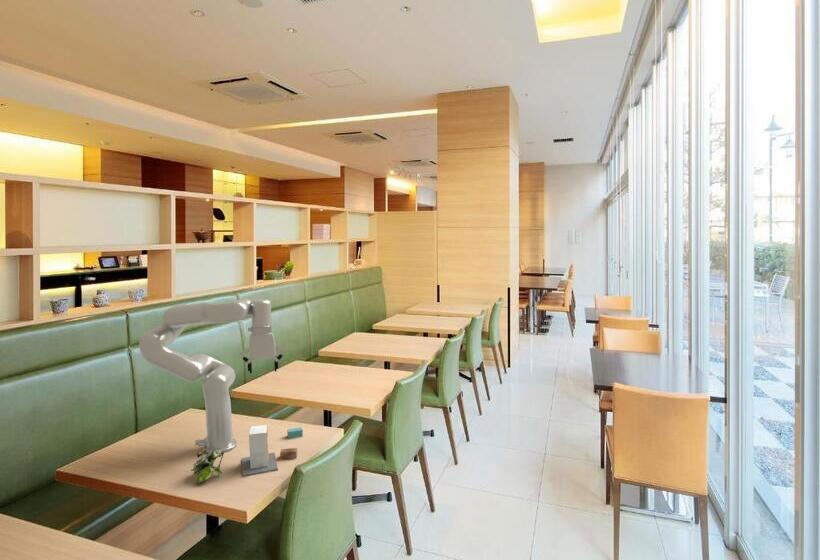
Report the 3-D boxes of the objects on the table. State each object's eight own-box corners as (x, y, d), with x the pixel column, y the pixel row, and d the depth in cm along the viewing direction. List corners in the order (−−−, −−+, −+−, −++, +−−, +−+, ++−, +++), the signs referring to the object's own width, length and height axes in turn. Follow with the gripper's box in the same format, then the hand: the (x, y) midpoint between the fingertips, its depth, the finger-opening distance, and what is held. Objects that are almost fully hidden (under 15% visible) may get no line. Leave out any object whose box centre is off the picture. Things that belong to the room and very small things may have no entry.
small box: (268, 466, 173) (266, 432, 172) (250, 469, 172) (248, 434, 171) (268, 456, 181) (267, 424, 180) (251, 459, 180) (250, 426, 178)
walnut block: (280, 460, 180) (280, 452, 180) (281, 456, 183) (281, 449, 183) (296, 459, 181) (296, 451, 181) (297, 455, 184) (297, 448, 184)
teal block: (288, 439, 199) (288, 432, 199) (287, 436, 202) (287, 429, 202) (302, 436, 201) (302, 429, 201) (301, 434, 204) (301, 427, 204)
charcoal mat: (243, 476, 168) (243, 474, 168) (242, 459, 181) (242, 457, 181) (277, 470, 172) (277, 468, 172) (274, 453, 185) (274, 452, 185)
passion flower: (203, 488, 171) (209, 453, 177) (229, 485, 168) (234, 450, 174) (181, 484, 162) (189, 447, 168) (208, 481, 159) (215, 444, 165)
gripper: (238, 333, 183) (240, 376, 185) (284, 330, 188) (285, 372, 189) (239, 329, 190) (241, 370, 192) (284, 327, 195) (285, 367, 197)
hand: (263, 371), depth 191 cm, fingers open, 9 cm apart
